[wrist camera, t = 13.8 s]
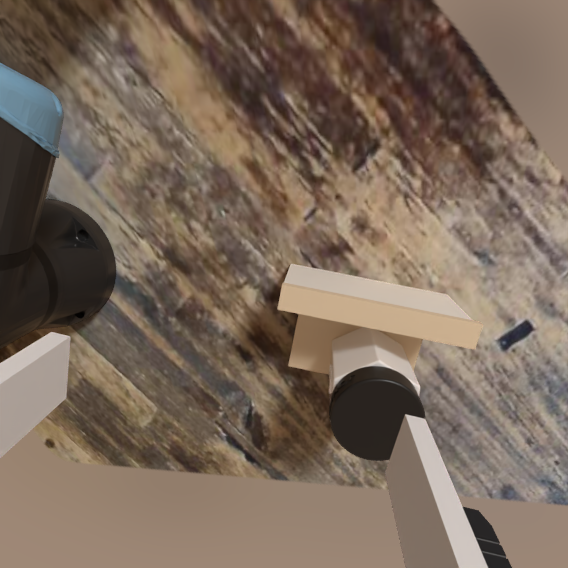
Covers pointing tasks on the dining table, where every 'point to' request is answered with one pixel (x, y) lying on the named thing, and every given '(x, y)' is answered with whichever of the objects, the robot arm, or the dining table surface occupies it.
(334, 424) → the jar
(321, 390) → the dining table surface
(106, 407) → the dining table surface
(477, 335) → the cleat board
